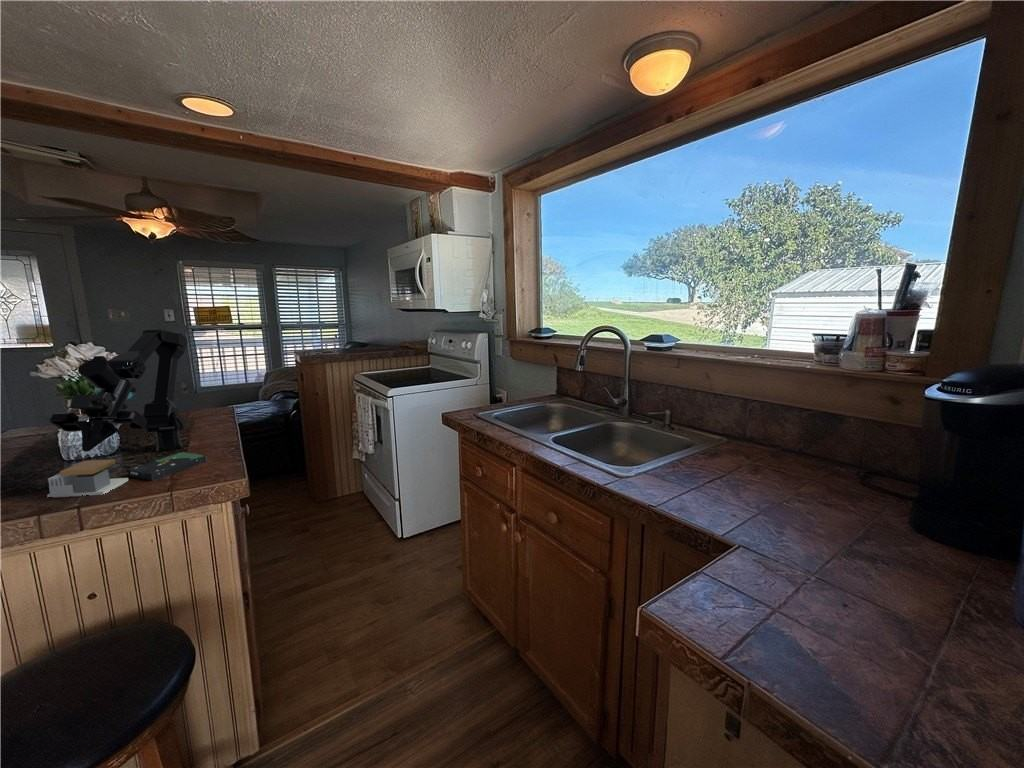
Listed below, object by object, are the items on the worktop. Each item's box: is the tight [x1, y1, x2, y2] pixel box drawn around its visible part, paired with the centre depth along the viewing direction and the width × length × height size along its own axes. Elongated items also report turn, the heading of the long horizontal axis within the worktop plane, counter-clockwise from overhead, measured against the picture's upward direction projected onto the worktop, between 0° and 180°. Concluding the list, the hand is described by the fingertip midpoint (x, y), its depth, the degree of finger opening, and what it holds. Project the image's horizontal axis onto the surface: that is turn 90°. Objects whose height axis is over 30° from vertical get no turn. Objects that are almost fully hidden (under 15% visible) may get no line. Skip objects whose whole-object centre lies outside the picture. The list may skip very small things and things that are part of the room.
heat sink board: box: [46, 468, 129, 498], centre depth 106 cm, size 8×12×5 cm
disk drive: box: [126, 451, 208, 482], centre depth 119 cm, size 10×3×15 cm
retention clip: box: [59, 458, 117, 477], centre depth 104 cm, size 7×7×6 cm
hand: (85, 450), depth 103 cm, fingers closed
